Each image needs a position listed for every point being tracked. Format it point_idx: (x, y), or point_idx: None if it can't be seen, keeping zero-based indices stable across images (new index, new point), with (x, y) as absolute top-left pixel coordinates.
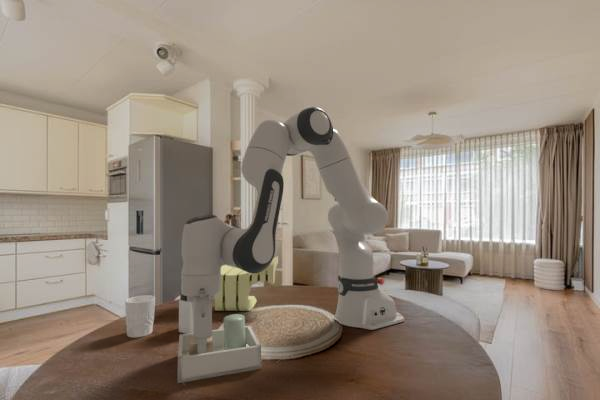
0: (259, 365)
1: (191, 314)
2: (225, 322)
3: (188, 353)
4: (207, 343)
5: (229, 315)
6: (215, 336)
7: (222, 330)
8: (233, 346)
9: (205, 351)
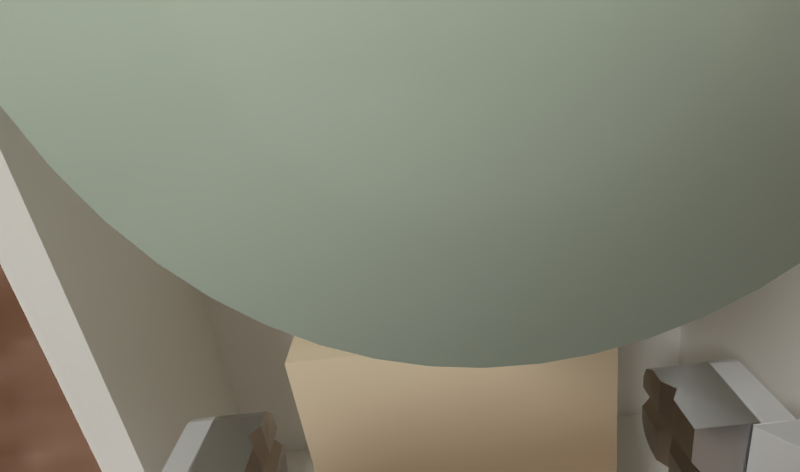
0: None
1: None
2: (737, 266)
3: (278, 415)
4: (612, 377)
5: (90, 146)
6: (106, 255)
7: (22, 188)
8: None
9: (732, 360)
